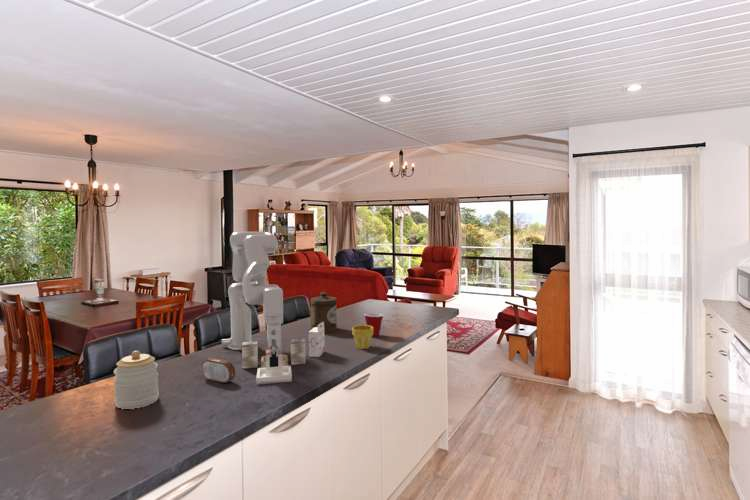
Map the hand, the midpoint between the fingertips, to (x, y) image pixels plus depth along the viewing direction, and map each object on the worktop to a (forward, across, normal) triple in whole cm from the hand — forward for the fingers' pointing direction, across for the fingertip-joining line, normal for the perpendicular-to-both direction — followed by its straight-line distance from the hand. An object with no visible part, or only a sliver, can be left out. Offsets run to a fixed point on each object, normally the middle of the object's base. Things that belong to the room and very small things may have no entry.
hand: (274, 362), depth 162 cm
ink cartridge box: (+6, +26, -19) cm, 33 cm away
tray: (+6, 0, 0) cm, 6 cm away
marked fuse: (+5, 0, 0) cm, 5 cm away
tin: (+6, +2, +21) cm, 22 cm away
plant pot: (+6, +32, -42) cm, 53 cm away
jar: (+6, -12, +45) cm, 47 cm away
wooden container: (+6, +70, -27) cm, 75 cm away
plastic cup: (+6, +51, -52) cm, 73 cm away
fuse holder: (+6, +16, 0) cm, 17 cm away
